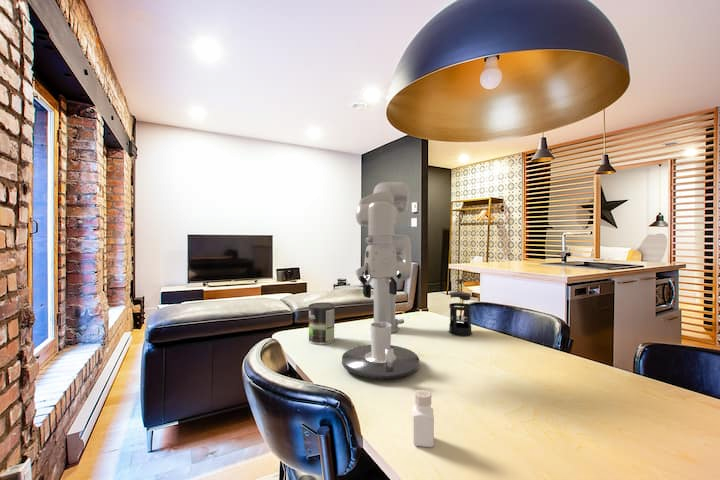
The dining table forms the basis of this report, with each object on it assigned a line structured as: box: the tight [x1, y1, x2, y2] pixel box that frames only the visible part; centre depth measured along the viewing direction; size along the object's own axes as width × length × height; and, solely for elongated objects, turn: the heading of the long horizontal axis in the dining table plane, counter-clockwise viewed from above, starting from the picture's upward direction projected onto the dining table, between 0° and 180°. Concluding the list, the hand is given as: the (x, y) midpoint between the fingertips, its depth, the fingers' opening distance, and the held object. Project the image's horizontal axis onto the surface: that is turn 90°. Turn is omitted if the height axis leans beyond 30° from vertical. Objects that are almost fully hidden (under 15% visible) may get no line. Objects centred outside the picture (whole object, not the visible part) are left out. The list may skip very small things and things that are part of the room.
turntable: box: [341, 344, 420, 379], centre depth 99 cm, size 24×24×9 cm
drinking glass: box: [370, 322, 392, 360], centre depth 99 cm, size 7×7×10 cm
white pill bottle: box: [412, 389, 435, 448], centre depth 62 cm, size 4×4×10 cm
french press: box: [448, 278, 473, 337], centre depth 135 cm, size 12×9×23 cm
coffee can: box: [308, 302, 336, 346], centre depth 125 cm, size 10×10×14 cm
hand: (380, 295), depth 99 cm, fingers open, 9 cm apart
